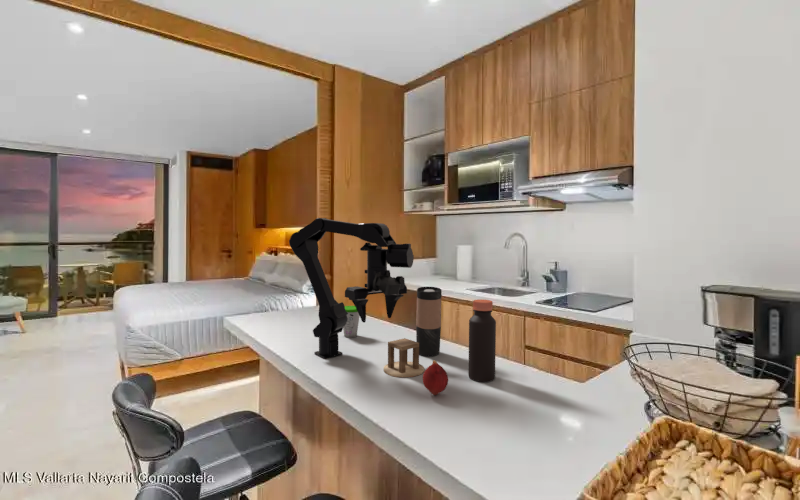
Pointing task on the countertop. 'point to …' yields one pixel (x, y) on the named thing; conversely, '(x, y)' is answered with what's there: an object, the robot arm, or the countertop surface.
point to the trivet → (409, 372)
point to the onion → (435, 378)
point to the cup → (351, 322)
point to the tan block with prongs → (403, 353)
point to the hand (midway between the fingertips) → (376, 320)
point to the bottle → (482, 342)
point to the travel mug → (428, 320)
